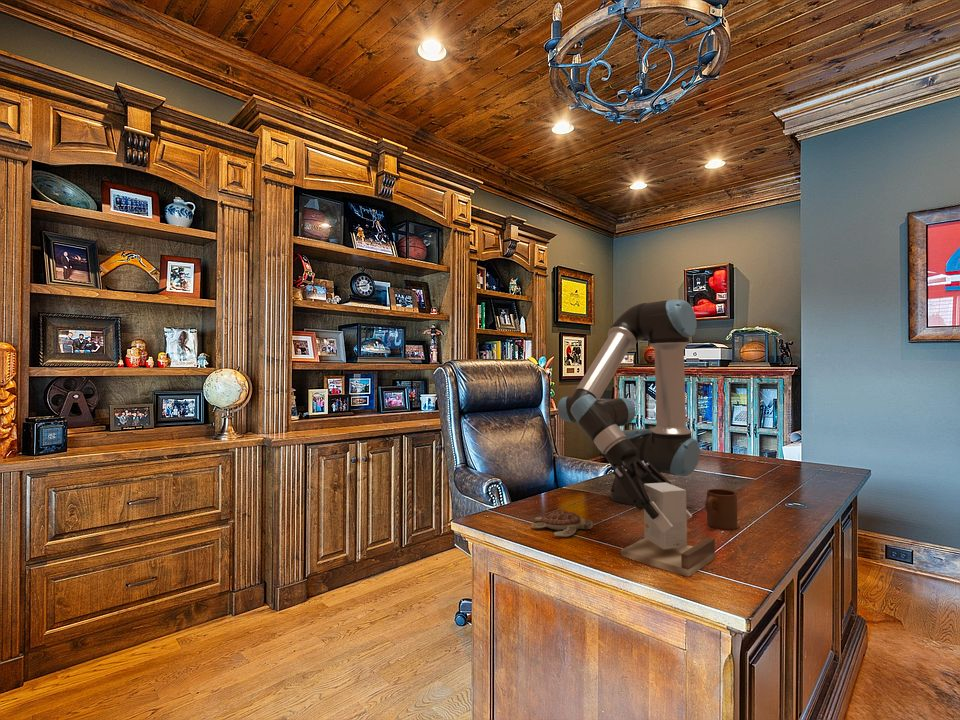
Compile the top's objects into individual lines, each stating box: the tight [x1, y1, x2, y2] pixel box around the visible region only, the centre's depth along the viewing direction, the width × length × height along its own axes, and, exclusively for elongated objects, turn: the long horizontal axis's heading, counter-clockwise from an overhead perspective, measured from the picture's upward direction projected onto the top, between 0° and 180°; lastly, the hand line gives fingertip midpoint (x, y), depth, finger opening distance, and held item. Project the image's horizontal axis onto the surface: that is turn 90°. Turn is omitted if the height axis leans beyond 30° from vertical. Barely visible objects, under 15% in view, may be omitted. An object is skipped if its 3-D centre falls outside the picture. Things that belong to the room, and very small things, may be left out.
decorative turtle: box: [531, 510, 594, 538], centre depth 138 cm, size 18×17×5 cm
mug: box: [704, 488, 738, 531], centre depth 137 cm, size 12×8×9 cm, turn 129°
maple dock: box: [620, 537, 716, 578], centre depth 116 cm, size 16×14×4 cm
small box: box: [643, 482, 688, 549], centre depth 116 cm, size 8×6×13 cm
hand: (678, 524), depth 114 cm, fingers closed on small box, 9 cm apart
